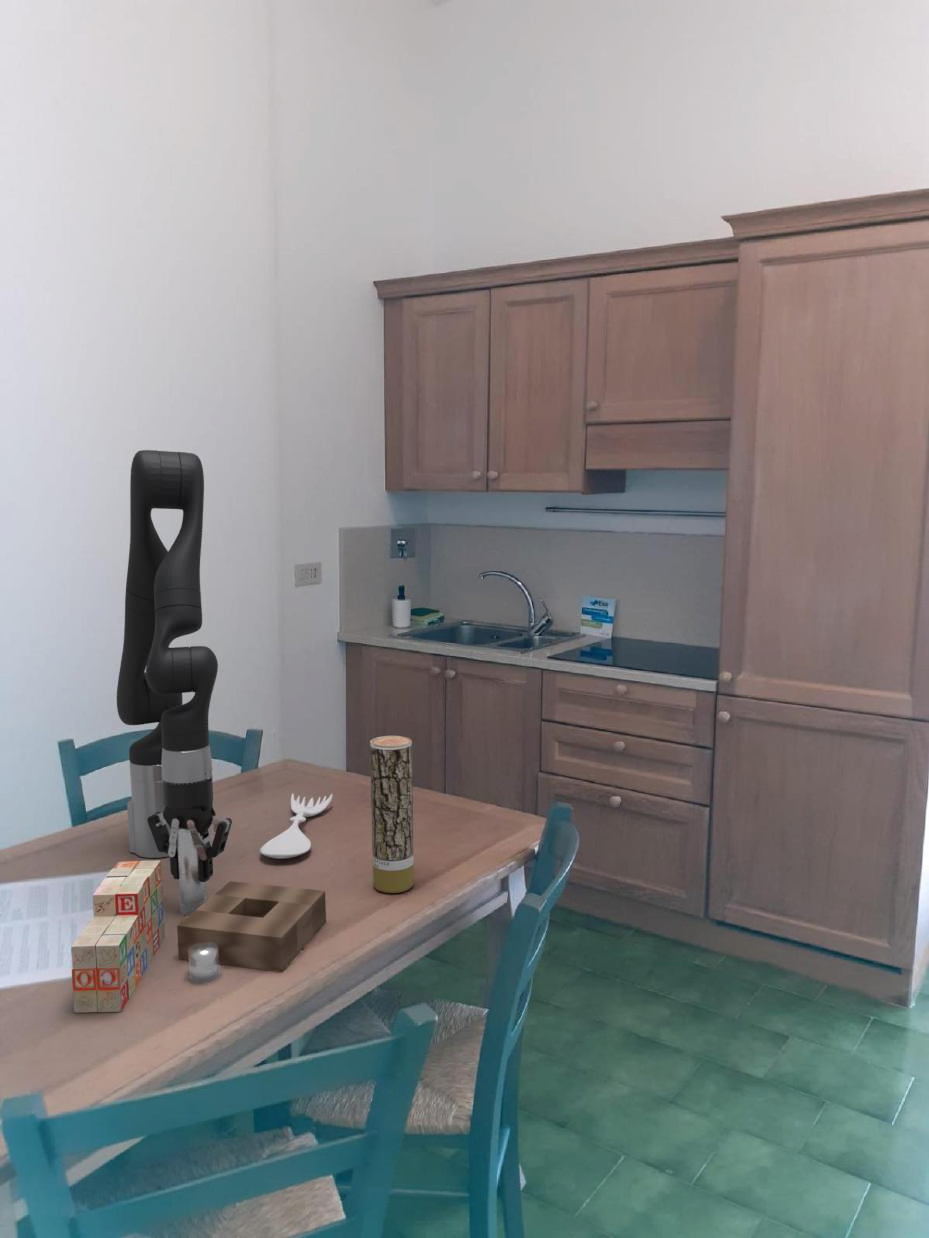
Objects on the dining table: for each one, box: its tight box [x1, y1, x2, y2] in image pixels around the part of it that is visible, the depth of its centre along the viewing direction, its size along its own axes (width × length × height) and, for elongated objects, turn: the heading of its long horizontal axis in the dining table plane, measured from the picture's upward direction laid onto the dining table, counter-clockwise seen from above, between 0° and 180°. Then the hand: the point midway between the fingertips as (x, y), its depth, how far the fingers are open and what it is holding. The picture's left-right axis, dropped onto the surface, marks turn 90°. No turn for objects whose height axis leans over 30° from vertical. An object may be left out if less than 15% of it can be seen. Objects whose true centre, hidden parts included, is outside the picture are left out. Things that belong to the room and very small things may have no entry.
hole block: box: [176, 880, 327, 972], centre depth 148 cm, size 16×16×5 cm
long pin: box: [177, 827, 207, 917], centre depth 157 cm, size 4×4×14 cm
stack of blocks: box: [70, 860, 166, 1014], centre depth 138 cm, size 21×6×12 cm, turn 2°
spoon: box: [259, 793, 334, 860], centre depth 192 cm, size 9×32×4 cm, turn 178°
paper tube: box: [369, 735, 415, 894], centre depth 165 cm, size 7×7×25 cm
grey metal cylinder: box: [188, 942, 221, 984], centre depth 137 cm, size 4×4×4 cm
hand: (192, 878), depth 158 cm, fingers closed on long pin, 4 cm apart
